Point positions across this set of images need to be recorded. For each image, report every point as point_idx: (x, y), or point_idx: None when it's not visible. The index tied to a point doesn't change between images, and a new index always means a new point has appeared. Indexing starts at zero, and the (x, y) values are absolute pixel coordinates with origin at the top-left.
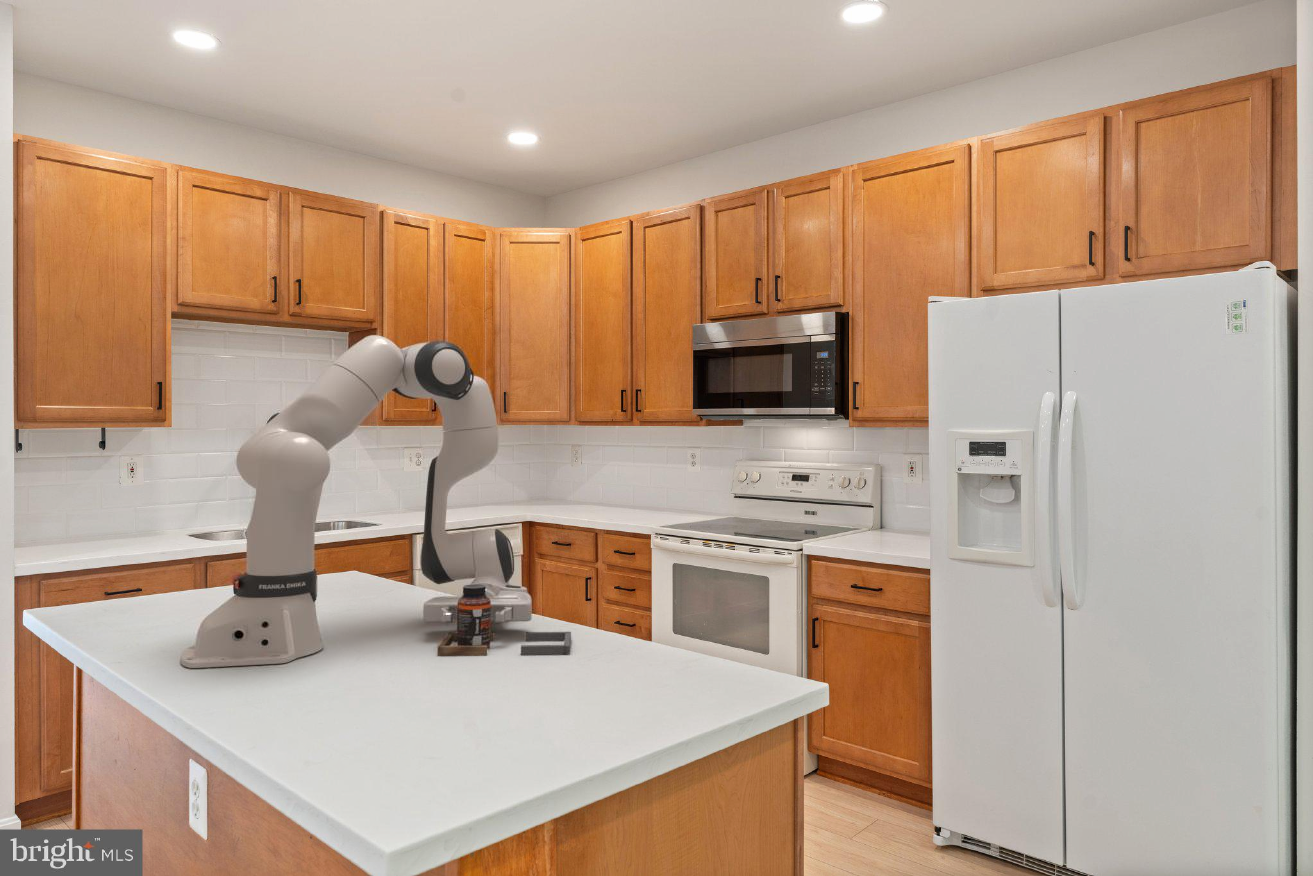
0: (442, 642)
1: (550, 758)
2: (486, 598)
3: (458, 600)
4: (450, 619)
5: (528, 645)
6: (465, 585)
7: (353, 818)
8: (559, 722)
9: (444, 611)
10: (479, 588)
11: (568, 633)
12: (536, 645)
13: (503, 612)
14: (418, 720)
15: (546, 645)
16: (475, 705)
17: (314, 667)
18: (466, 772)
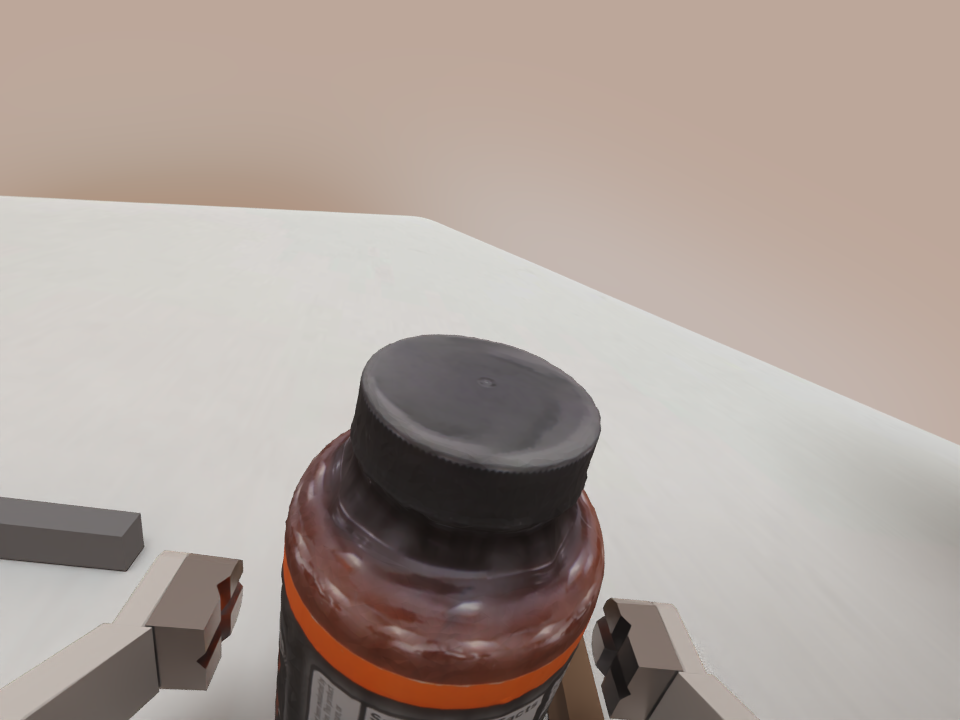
0: (579, 652)
1: (300, 225)
2: (339, 444)
3: (586, 495)
4: (600, 621)
5: (83, 523)
6: (586, 411)
7: (456, 232)
8: (258, 249)
9: (709, 676)
10: (419, 341)
11: None
12: (33, 518)
13: (159, 557)
14: (454, 292)
15: None
16: (376, 300)
17: (858, 526)
18: (383, 234)
